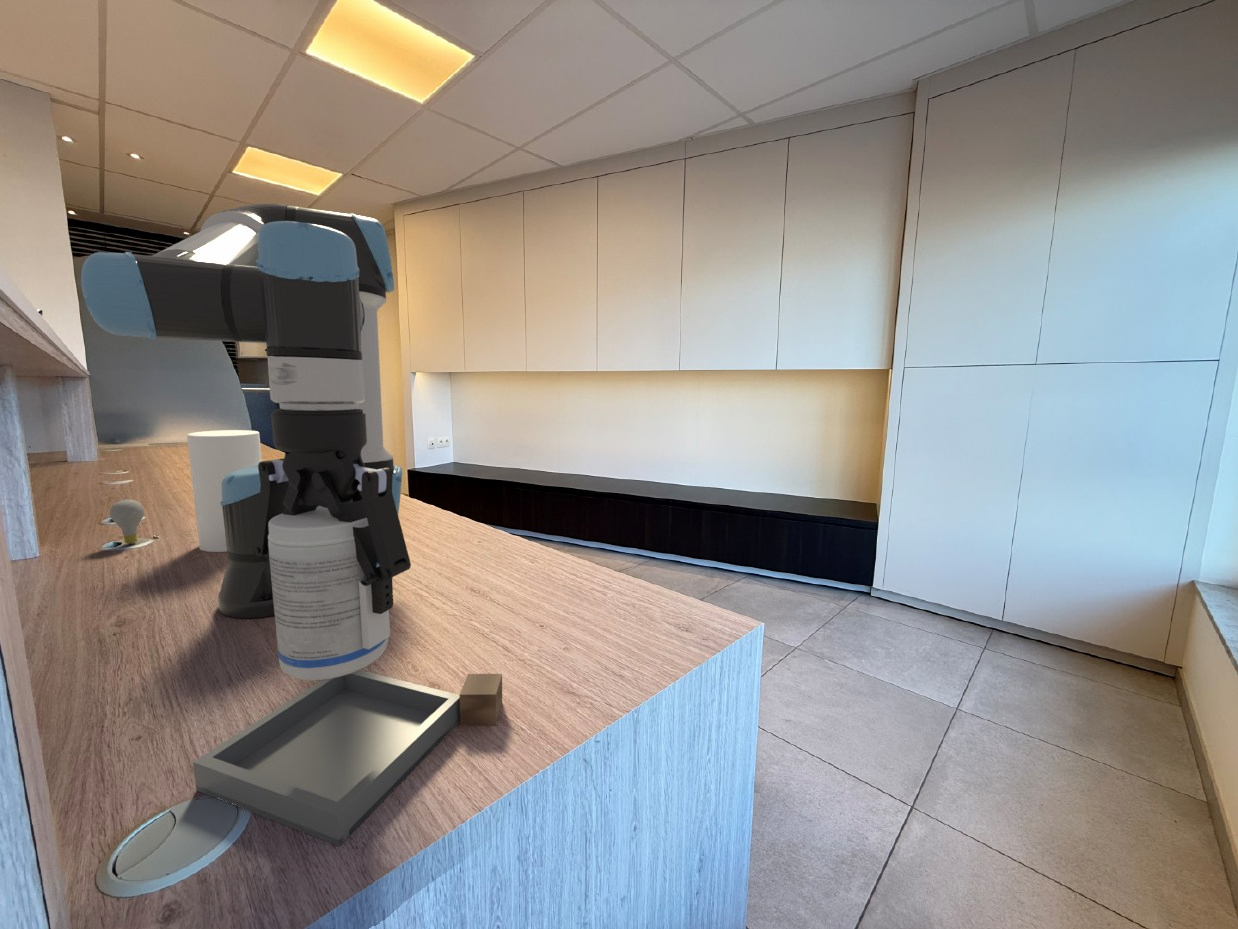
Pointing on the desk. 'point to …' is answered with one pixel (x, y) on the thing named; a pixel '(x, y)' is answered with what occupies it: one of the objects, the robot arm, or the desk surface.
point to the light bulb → (127, 518)
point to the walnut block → (481, 700)
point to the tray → (330, 752)
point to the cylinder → (217, 477)
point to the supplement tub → (317, 595)
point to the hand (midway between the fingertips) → (334, 632)
